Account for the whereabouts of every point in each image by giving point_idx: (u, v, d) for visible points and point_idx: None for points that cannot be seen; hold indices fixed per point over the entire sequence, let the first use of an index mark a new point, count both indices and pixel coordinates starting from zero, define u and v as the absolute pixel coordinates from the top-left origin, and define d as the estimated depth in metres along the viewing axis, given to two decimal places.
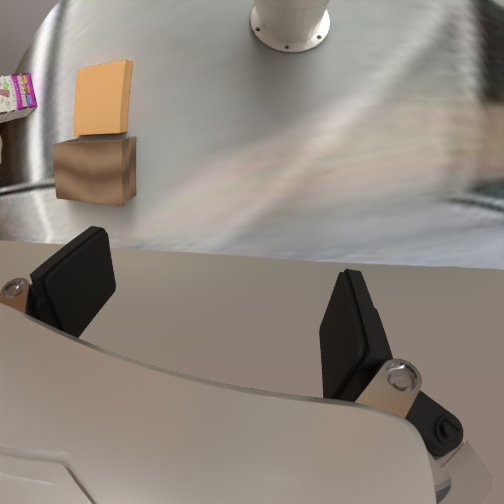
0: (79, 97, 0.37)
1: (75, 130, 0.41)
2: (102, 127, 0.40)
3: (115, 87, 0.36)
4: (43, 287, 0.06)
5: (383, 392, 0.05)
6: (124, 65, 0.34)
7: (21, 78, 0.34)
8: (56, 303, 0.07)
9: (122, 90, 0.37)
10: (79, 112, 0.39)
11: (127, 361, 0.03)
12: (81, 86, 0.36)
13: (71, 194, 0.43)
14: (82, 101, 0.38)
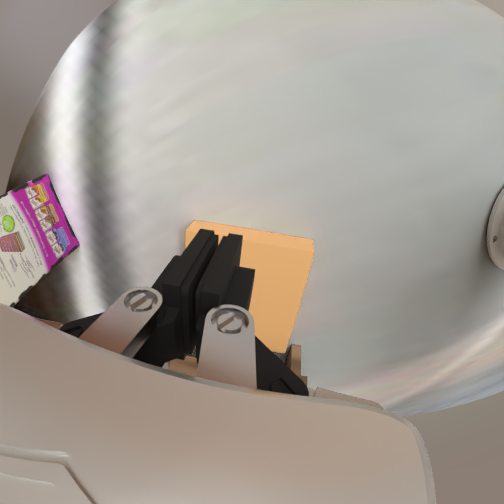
0: None
1: None
2: None
3: (286, 295, 0.27)
4: (178, 296, 0.07)
5: (220, 342, 0.06)
6: (310, 262, 0.25)
7: (35, 193, 0.24)
8: (187, 312, 0.08)
9: None
10: None
11: (127, 361, 0.03)
12: None
13: None
14: None
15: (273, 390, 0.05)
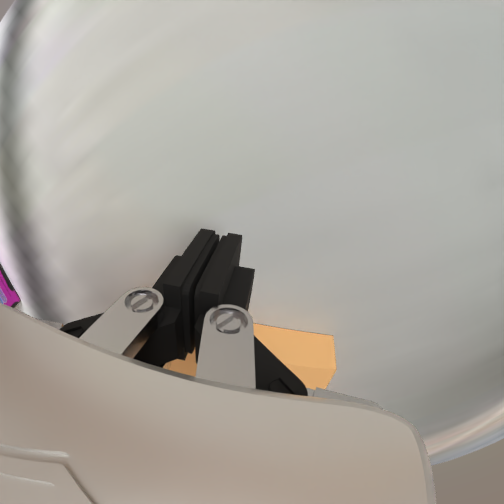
0: None
1: None
2: None
3: None
4: (179, 296, 0.07)
5: (219, 342, 0.06)
6: (327, 381, 0.13)
7: None
8: (188, 313, 0.08)
9: None
10: None
11: (127, 361, 0.03)
12: None
13: None
14: None
15: (272, 390, 0.05)
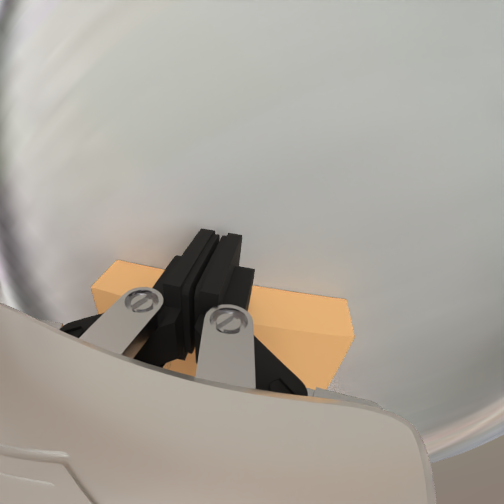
0: None
1: None
2: None
3: None
4: (179, 296, 0.07)
5: (219, 342, 0.06)
6: (342, 354, 0.11)
7: None
8: (188, 313, 0.08)
9: None
10: None
11: (127, 361, 0.03)
12: None
13: None
14: None
15: (272, 390, 0.05)
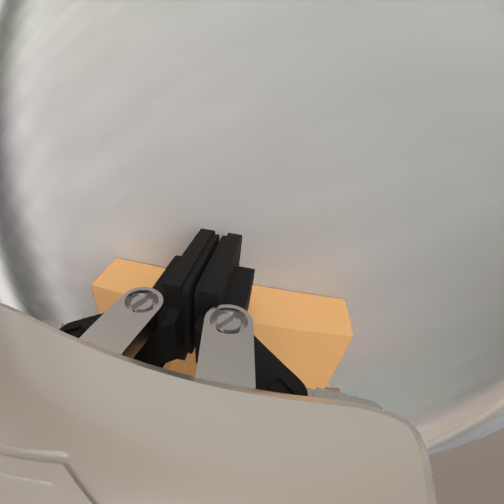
0: None
1: None
2: None
3: None
4: (179, 296, 0.07)
5: (218, 342, 0.06)
6: (341, 353, 0.11)
7: None
8: (188, 313, 0.08)
9: None
10: None
11: (127, 361, 0.03)
12: None
13: None
14: None
15: (272, 390, 0.05)
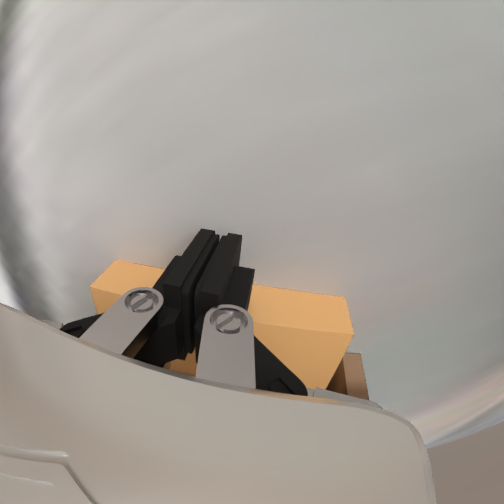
0: None
1: None
2: None
3: None
4: (179, 296, 0.07)
5: (218, 342, 0.06)
6: (342, 351, 0.11)
7: None
8: (188, 313, 0.08)
9: None
10: None
11: (127, 361, 0.03)
12: None
13: None
14: None
15: (272, 390, 0.05)
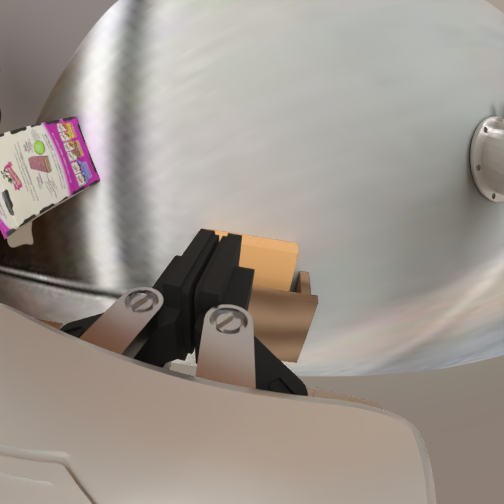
0: None
1: None
2: None
3: (277, 286, 0.35)
4: (179, 296, 0.07)
5: (219, 342, 0.06)
6: (295, 260, 0.33)
7: (64, 129, 0.27)
8: (188, 313, 0.08)
9: None
10: None
11: (127, 361, 0.03)
12: None
13: None
14: None
15: (272, 390, 0.05)
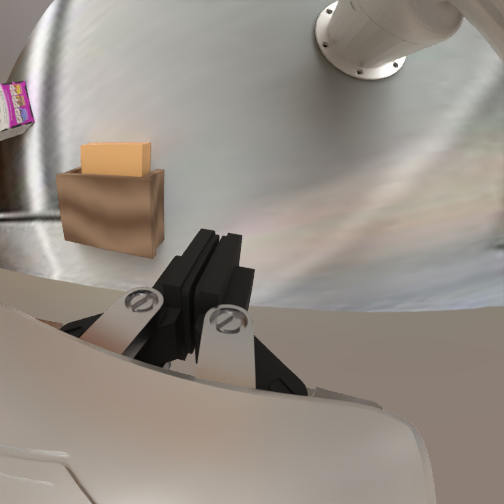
0: None
1: None
2: None
3: None
4: (179, 296, 0.07)
5: (219, 342, 0.06)
6: (141, 152, 0.34)
7: (14, 88, 0.28)
8: (188, 313, 0.08)
9: None
10: None
11: (127, 361, 0.03)
12: (88, 168, 0.35)
13: (83, 238, 0.37)
14: None
15: (272, 390, 0.05)
